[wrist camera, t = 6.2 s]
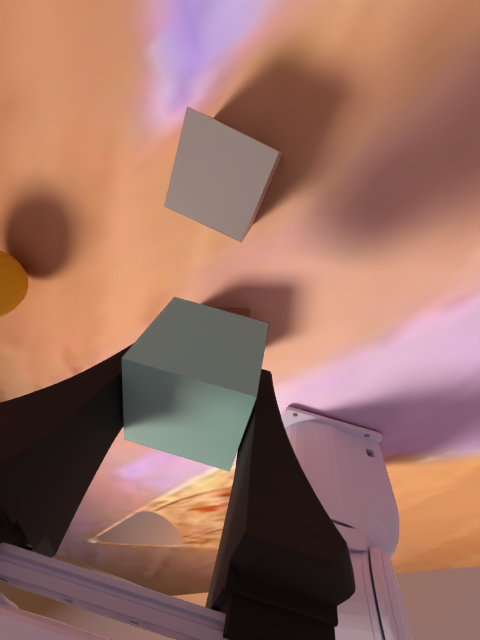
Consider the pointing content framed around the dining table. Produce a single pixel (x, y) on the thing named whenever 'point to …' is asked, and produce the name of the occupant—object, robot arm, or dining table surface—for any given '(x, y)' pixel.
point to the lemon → (11, 283)
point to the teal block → (193, 382)
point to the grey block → (220, 175)
